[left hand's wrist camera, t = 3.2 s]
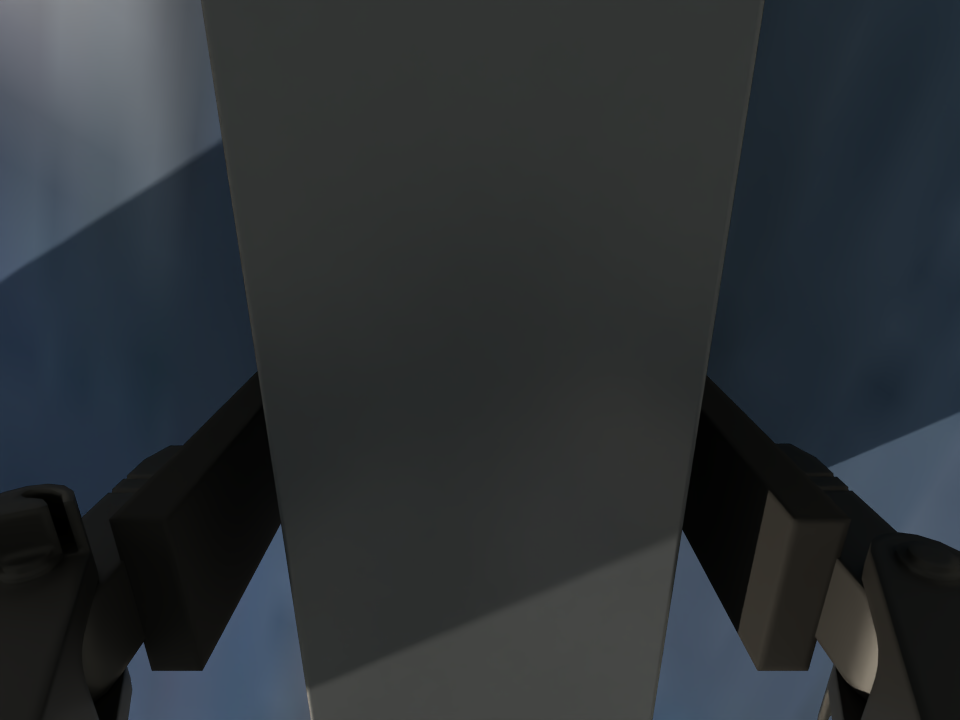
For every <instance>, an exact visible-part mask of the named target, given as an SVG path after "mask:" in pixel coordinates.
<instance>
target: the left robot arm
mask: <svg viewBox="0 0 960 720" xmlns="http://www.w3.org/2000/svg"><path fill="white" fill-rule="evenodd" d="M280 524H281V520H280V513H279V507H278V500H277V494H276V487H275V481H274V474H273V468H272V461H271V454H270V448H269V441H268V435H267V428H266V422H265V415H264V409H263V402H262V396H261V389H260V383H259V376H258V371H257V372H256V373H255V374H254V375H253V376H252V377H251V378H250V379H249V380H248V381H247V382H246V383H245V384H244V385H243V386H242V387H241V388H240V389H239V390H238V391H237V392H236V393H235V394H234V395H233V396H232V397H231V398H230V399H229V400H228V401H227V402H226V403H225V404H224V405H223V406H222V407H221V408H220V409H219V410H218V411H217V412H216V413H215V414H214V415H213V416H212V417H211V418H210V419H209V420H208V421H207V422H206V423H205V424H204V425H203V426H202V427H201V428H200V429H199V430H198V431H197V432H196V433H195V434H194V435H193V436H192V437H191V438H190V439H189V440H188V441H187V442H186V443H185V444H184V445H183V446H169V447H167V448H165V449H163V450H161V451H159V452H157V453H156V454H154V455H152V456H150V457H148V458H146V459H145V460H143V461H142V462H141V463H140V464H139V465H138V466H137V467H136V468H135V469H134V470H133V471H132V472H130V473H129V474H128V475H127V479H123V480H122V481H121V482H120V483H119V484H117V485H116V486H115V487H114V488H113V489H112V493H108V494H107V495H106V496H104V497H103V498H102V499H101V500H100V501H99V502H98V503H97V504H96V505H95V506H94V507H93V508H92V509H90V510H89V511H88V512H87V513H86V514H85V515H84V516H83V517H81V514H80V511H79V508H78V504H77V501H76V498H75V495H74V491H73V490H71V489H69V488H68V487H66V486H64V485H55V484H42V485H33V486H26V487H22V488H18V489H14V490H10V491H7V492H3V493H0V720H128V716H129V709H130V702H131V695H132V685H131V678H130V675H129V671H128V668H127V665H128V664H129V662H130V661H131V659H132V658H133V657H134V655H135V654H136V652H137V651H138V649H139V648H140V646H141V645H142V643H143V642H144V645H145V648H146V652H147V655H148V659H149V662H150V666H151V669H152V671H202V670H203V669H204V667H205V665H206V663H207V661H208V659H209V657H210V655H211V654H212V652H213V650H214V648H215V646H216V644H217V642H218V640H219V639H220V637H221V635H222V633H223V631H224V629H225V627H226V625H227V624H228V622H229V620H230V618H231V616H232V614H233V612H234V610H235V609H236V607H237V605H238V603H239V601H240V599H241V597H242V595H243V594H244V592H245V590H246V588H247V586H248V584H249V582H250V580H251V578H252V577H253V575H254V573H255V571H256V569H257V567H258V565H259V563H260V562H261V560H262V558H263V556H264V554H265V552H266V550H267V548H268V547H269V545H270V543H271V541H272V539H273V537H274V535H275V533H276V532H277V530H278V528H279V526H280ZM682 530H683V532H684V533H685V535H686V537H687V539H688V541H689V543H690V545H691V547H692V548H693V550H694V552H695V554H696V556H697V558H698V560H699V562H700V563H701V565H702V567H703V569H704V571H705V573H706V575H707V577H708V579H709V580H710V582H711V584H712V586H713V588H714V590H715V592H716V594H717V595H718V597H719V599H720V601H721V603H722V605H723V607H724V609H725V610H726V612H727V614H728V616H729V618H730V620H731V622H732V624H733V625H734V627H735V629H736V631H737V633H738V635H739V637H740V639H741V640H742V642H743V644H744V646H745V648H746V650H747V652H748V654H749V655H750V657H751V659H752V661H753V663H754V665H755V667H756V669H757V670H758V671H808V669H809V666H810V662H811V659H812V655H813V652H814V648H815V645H816V641H817V640H818V642H819V643H820V645H821V646H822V648H823V649H824V651H825V652H826V653H827V655H828V656H829V658H830V659H831V661H832V662H833V664H834V665H833V668H832V671H831V675H830V678H829V681H828V684H827V688H826V691H825V694H824V697H823V701H822V704H821V707H820V711H819V714H818V720H828V719H829V717H830V716H831V715H832V720H960V551H958V550H956V549H954V548H952V547H950V546H947V545H945V544H943V543H941V542H939V541H935V540H932V539H929V538H926V537H922V536H919V535H915V534H907V533H899V532H897V531H895V530H894V529H893V528H892V527H891V526H890V525H889V524H888V523H887V522H886V521H885V520H883V519H882V518H881V517H880V516H879V515H878V514H877V513H876V512H875V511H874V510H873V509H871V508H870V507H869V506H868V505H867V504H866V503H865V502H864V501H863V500H862V499H861V498H859V497H858V496H857V495H856V494H855V493H854V492H853V491H849V490H848V487H847V486H846V485H845V484H844V483H843V482H842V481H841V480H840V479H839V478H838V477H834V476H833V473H832V472H831V471H830V470H829V469H828V468H827V467H826V466H825V465H823V464H822V463H821V462H820V461H819V460H818V459H817V458H816V457H814V456H812V455H810V454H808V453H807V452H805V451H803V450H801V449H799V448H797V447H795V446H794V445H792V444H775V443H774V442H773V441H772V440H771V439H770V438H769V437H768V436H767V435H766V434H765V433H764V432H763V431H762V430H761V429H760V428H759V427H758V426H757V425H756V424H755V423H754V422H753V421H752V420H751V419H750V418H749V417H748V416H747V415H746V414H745V413H744V412H743V411H742V410H741V409H740V408H739V407H738V406H737V405H736V404H735V403H734V402H733V401H732V400H731V399H730V398H729V397H728V396H727V395H726V394H725V393H724V392H723V391H722V390H721V389H720V388H719V387H718V386H717V385H716V384H715V383H714V382H713V381H712V380H711V379H710V378H709V377H708V376H707V375H706V380H705V386H704V393H703V399H702V405H701V412H700V418H699V425H698V431H697V437H696V444H695V450H694V457H693V463H692V469H691V476H690V482H689V489H688V495H687V501H686V508H685V514H684V521H683V527H682Z"/></svg>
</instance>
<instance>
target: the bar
mask: <svg viewBox="0 0 960 720" xmlns="http://www.w3.org/2000/svg"><path fill="white" fill-rule="evenodd" d="M764 2H765V0H201V4H202V10H203V17H204V23H205V30H206V36H207V43H208V49H209V56H210V62H211V69H212V76H213V82H214V89H215V95H216V102H217V108H218V115H219V121H220V128H221V134H222V141H223V147H224V154H225V160H226V167H227V174H228V180H229V187H230V193H231V200H232V206H233V213H234V219H235V226H236V232H237V239H238V245H239V252H240V258H241V265H242V272H243V278H244V285H245V291H246V298H247V304H248V311H249V317H250V324H251V330H252V337H253V343H254V350H255V356H256V363H257V370H258V376H259V383H260V389H261V396H262V402H263V409H264V415H265V422H266V428H267V435H268V441H269V448H270V454H271V461H272V468H273V474H274V481H275V487H276V494H277V500H278V507H279V513H280V520H281V526H282V533H283V539H284V546H285V552H286V559H287V566H288V572H289V579H290V585H291V592H292V598H293V605H294V611H295V618H296V624H297V631H298V637H299V644H300V650H301V657H302V663H303V670H304V677H305V683H306V690H307V696H308V703H309V709H310V716H311V720H652V719H653V713H654V706H655V700H656V694H657V687H658V681H659V674H660V668H661V661H662V655H663V649H664V642H665V636H666V629H667V623H668V617H669V610H670V604H671V597H672V591H673V585H674V578H675V572H676V565H677V559H678V553H679V546H680V540H681V533H682V527H683V521H684V514H685V508H686V501H687V495H688V489H689V482H690V476H691V469H692V463H693V457H694V450H695V444H696V437H697V431H698V425H699V418H700V412H701V405H702V399H703V393H704V386H705V380H706V373H707V367H708V361H709V354H710V348H711V341H712V335H713V329H714V322H715V316H716V309H717V303H718V297H719V290H720V284H721V277H722V271H723V265H724V258H725V252H726V245H727V239H728V233H729V226H730V220H731V213H732V207H733V201H734V194H735V188H736V181H737V175H738V169H739V162H740V156H741V149H742V143H743V137H744V130H745V124H746V117H747V111H748V105H749V98H750V92H751V85H752V79H753V73H754V66H755V60H756V53H757V47H758V41H759V34H760V28H761V21H762V15H763V9H764Z"/></svg>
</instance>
